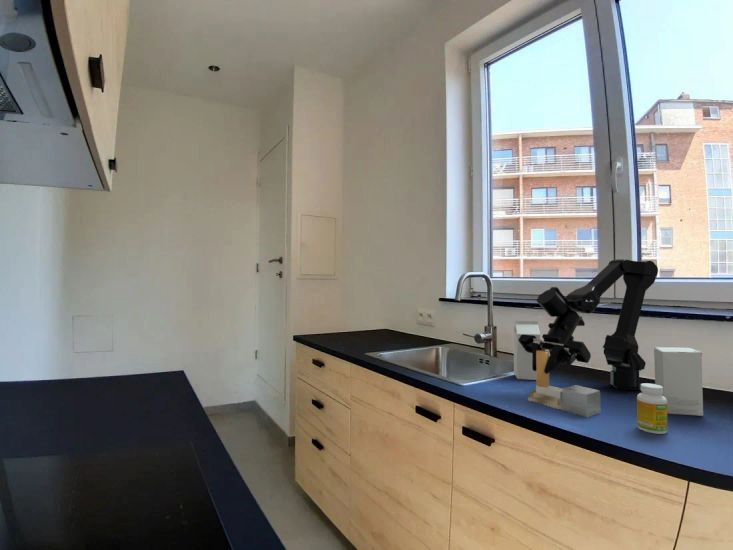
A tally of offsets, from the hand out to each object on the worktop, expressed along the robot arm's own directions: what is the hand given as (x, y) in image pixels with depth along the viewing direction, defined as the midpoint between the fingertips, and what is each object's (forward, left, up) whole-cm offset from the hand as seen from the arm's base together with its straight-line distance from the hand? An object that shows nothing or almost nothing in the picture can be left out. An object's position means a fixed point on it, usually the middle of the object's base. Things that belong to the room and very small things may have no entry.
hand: (539, 371), depth 107 cm
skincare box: (-32, +1, -8) cm, 33 cm away
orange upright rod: (-3, +1, -7) cm, 8 cm away
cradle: (-3, +1, -8) cm, 9 cm away
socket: (-8, +6, -8) cm, 13 cm away
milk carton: (-1, -27, -8) cm, 28 cm away
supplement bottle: (-20, +16, -8) cm, 27 cm away
